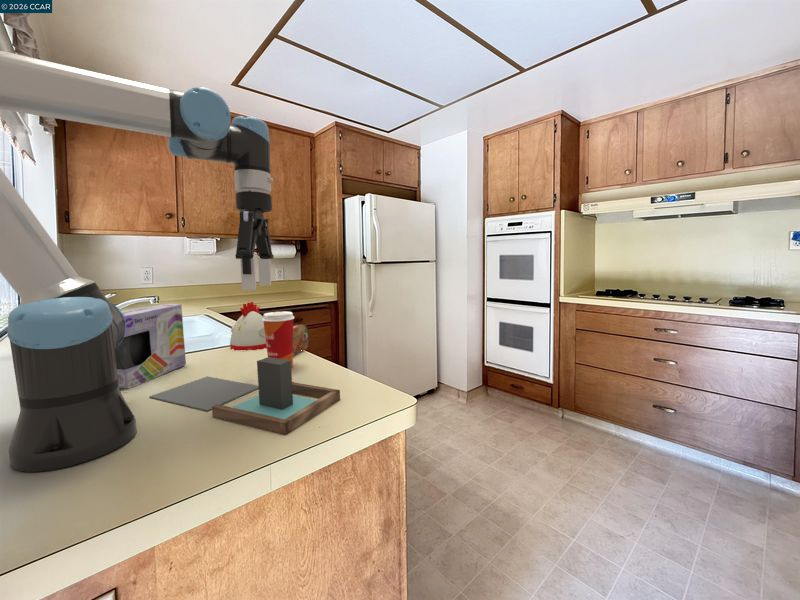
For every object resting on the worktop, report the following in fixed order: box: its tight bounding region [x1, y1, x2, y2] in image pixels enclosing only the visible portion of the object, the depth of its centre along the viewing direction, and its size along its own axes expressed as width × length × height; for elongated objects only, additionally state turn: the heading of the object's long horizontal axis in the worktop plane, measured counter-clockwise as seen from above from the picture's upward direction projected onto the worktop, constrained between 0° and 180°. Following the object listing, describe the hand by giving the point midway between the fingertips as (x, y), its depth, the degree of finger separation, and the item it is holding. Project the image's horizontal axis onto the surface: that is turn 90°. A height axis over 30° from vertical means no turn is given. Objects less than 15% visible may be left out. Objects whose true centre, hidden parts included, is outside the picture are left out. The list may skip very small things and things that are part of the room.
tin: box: [293, 324, 310, 358], centre depth 112 cm, size 15×3×8 cm, turn 168°
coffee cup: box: [262, 311, 295, 369], centre depth 96 cm, size 8×8×15 cm
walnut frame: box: [211, 381, 341, 435], centre depth 72 cm, size 16×18×2 cm
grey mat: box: [149, 376, 259, 412], centre depth 80 cm, size 14×18×1 cm
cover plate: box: [231, 356, 317, 419], centre depth 72 cm, size 10×14×10 cm
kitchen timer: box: [229, 301, 267, 351], centre depth 122 cm, size 14×14×15 cm
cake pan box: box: [115, 303, 187, 390], centre depth 91 cm, size 19×5×18 cm, turn 170°
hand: (257, 287), depth 83 cm, fingers open, 13 cm apart
